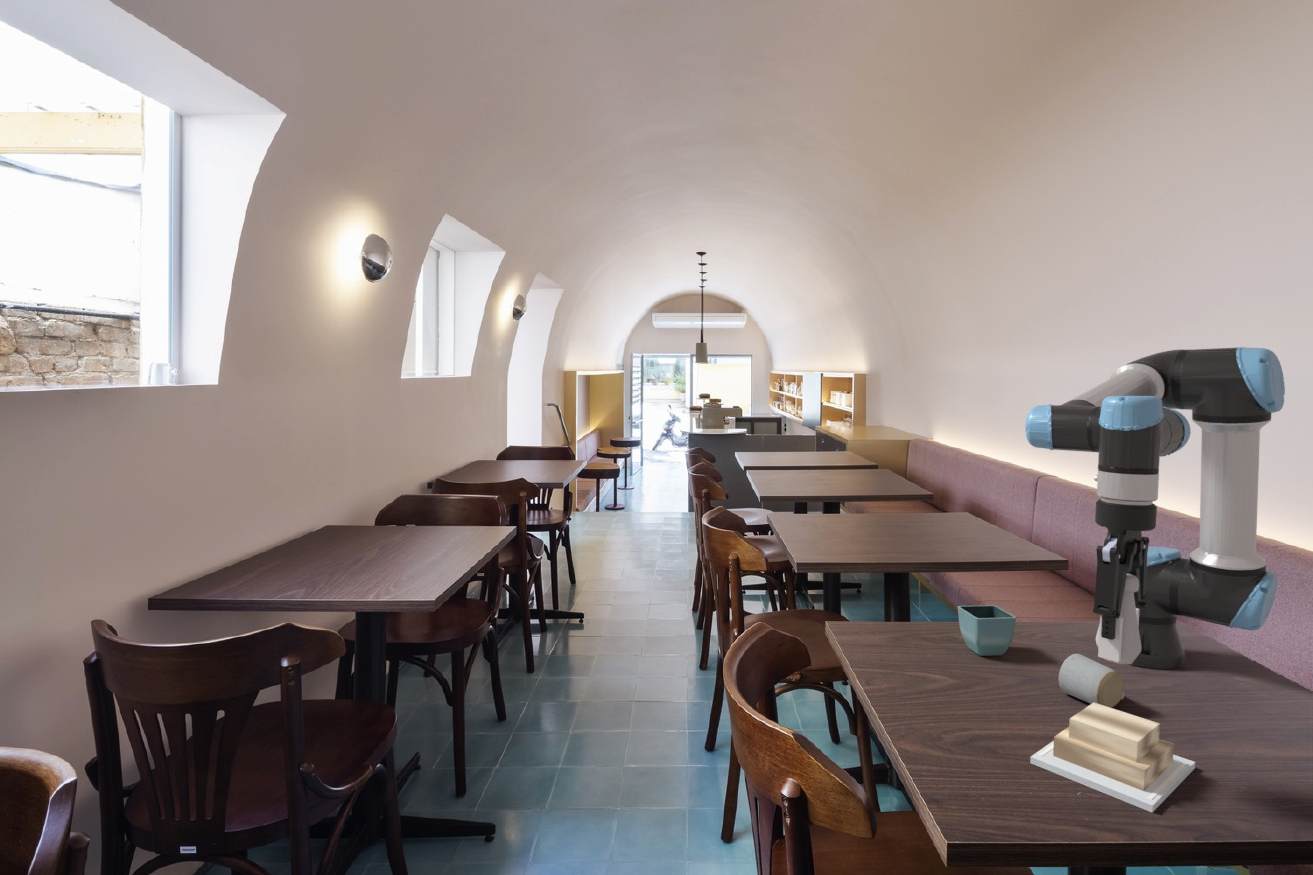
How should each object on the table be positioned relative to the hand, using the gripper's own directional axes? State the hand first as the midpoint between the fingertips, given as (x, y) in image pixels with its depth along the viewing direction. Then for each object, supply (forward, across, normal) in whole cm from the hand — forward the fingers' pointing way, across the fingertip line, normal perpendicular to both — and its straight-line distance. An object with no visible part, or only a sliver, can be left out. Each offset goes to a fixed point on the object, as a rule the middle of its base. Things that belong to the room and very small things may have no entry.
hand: (1117, 653), depth 107 cm
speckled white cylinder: (+18, -23, -11) cm, 31 cm away
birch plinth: (+17, 0, 0) cm, 17 cm away
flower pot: (+18, -30, -35) cm, 49 cm away
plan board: (+17, 0, 0) cm, 17 cm away
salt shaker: (+1, 0, 0) cm, 1 cm away
